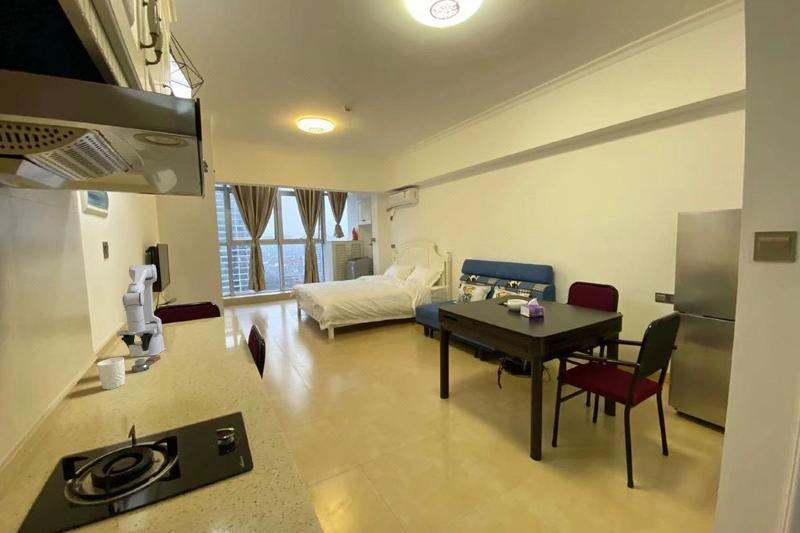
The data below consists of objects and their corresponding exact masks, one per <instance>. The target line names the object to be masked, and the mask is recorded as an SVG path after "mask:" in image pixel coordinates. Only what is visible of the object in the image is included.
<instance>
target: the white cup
mask: <svg viewBox="0 0 800 533" xmlns="http://www.w3.org/2000/svg"><path fill="white" fill-rule="evenodd" d="M125 363H126V362H125V357H111V358H108V359H104V360H101V361H98V362H97V365H96V366H97V370H98V371H97V372H98V377H99V381H100V384H101V389H102V388H103V389H102V390H104V389H107V390H113V389H117V388H120V387H122V386H125V383H126V367H125Z"/></svg>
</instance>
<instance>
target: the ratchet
mask: <svg viewBox="0 0 800 533" xmlns="http://www.w3.org/2000/svg"><path fill="white" fill-rule="evenodd" d="M160 360H161V355H160V354H157V355H154V356H149V357H148V358H147V359H145V358H138V359H136V360H134V365H132V366H131V367H130V368H131V373H133V374H134V373H135V374H136V373H142V372H146V371H148V370H149V369H150V367H151V366H152V365H154V364H155V363H157V362H158V361H160Z"/></svg>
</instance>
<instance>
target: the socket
mask: <svg viewBox="0 0 800 533" xmlns="http://www.w3.org/2000/svg"><path fill="white" fill-rule="evenodd" d="M128 350H129V351H128V352H129V357H138V356H141V357H144V356H143V355H144V354H146V353H148V352H149V349H148V350H147V351H144V349H143V343H142V341H141V340H140V341H134V343H132V344H130V345H129V348H128Z"/></svg>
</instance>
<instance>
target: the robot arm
mask: <svg viewBox="0 0 800 533" xmlns="http://www.w3.org/2000/svg"><path fill="white" fill-rule="evenodd" d="M128 274H129V277H130V279H131V280H132V282H130V284H128V287H127V291H126V293H125V294H122V297H121V298H122V305H123V309H124V312H125V315H126V321H127V330H125V329H124V330H119V331H116V337H121V341H122V342H124V343H125V345H126V346H127V349H129V345H130V344H132V343H134V342H135V338H136V337H137V338H139V339H140V341H142V343H143V349H144V351H147V350H148V349H149V352H148V353H146V354H144V355H143V356H137V357H138V358H139V357H151V356H156V355H160V353H162V352H164V351H165V350H166V349H167V347H165V343H164V337H163V335H162V332H163V325H162V324H163V323H162V319H161V318H159V317H158V316H156V315H155V312H154V297H153V283H155V282H157V278H158V276H157V275H158V274H157V268H156V265H155V264H153V263H152V264H141V265H140V264H139V265H130V266H129V269H128Z"/></svg>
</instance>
